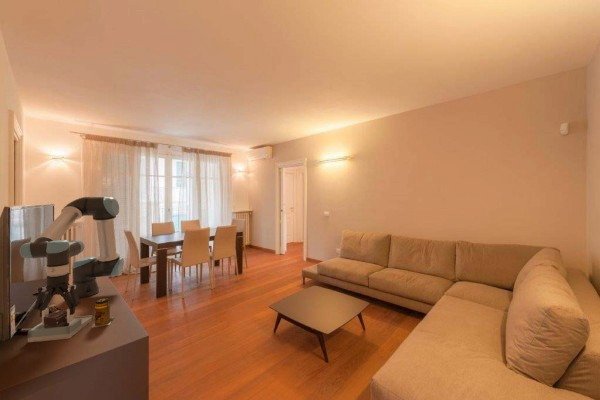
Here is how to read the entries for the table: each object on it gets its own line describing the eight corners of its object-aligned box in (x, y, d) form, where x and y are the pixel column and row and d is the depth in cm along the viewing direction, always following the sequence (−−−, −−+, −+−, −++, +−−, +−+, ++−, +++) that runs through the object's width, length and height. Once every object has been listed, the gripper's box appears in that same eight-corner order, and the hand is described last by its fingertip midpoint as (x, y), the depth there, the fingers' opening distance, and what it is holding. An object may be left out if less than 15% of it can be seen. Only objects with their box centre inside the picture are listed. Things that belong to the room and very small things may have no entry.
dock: (56, 322, 123) (56, 313, 123) (92, 319, 127) (92, 310, 127) (27, 342, 107) (28, 330, 107) (69, 338, 110) (70, 327, 110)
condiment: (91, 328, 119) (91, 303, 119) (97, 320, 127) (97, 297, 127) (109, 325, 122) (109, 301, 122) (114, 317, 130) (114, 294, 130)
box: (55, 333, 110) (54, 318, 109) (43, 332, 111) (42, 317, 110) (69, 325, 116) (68, 310, 115) (58, 324, 117) (57, 309, 116)
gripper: (22, 278, 107) (21, 329, 107) (80, 275, 112) (79, 324, 112) (36, 272, 114) (36, 320, 114) (90, 270, 119) (89, 316, 119)
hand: (57, 322), depth 113 cm, fingers open, 9 cm apart
